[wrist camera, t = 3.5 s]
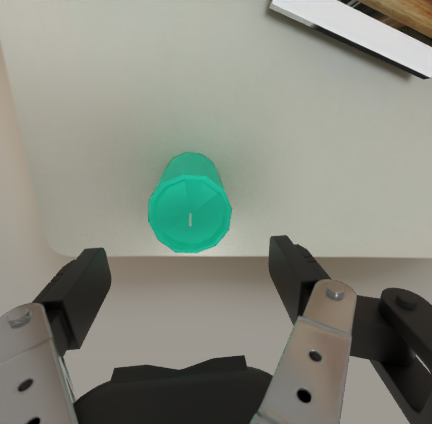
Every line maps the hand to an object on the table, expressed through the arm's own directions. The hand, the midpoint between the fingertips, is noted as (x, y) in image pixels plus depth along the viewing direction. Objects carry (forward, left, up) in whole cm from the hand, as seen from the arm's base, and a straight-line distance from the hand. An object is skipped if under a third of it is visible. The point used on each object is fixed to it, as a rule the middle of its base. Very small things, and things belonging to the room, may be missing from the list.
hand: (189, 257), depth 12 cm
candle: (0, 0, -16) cm, 16 cm away
